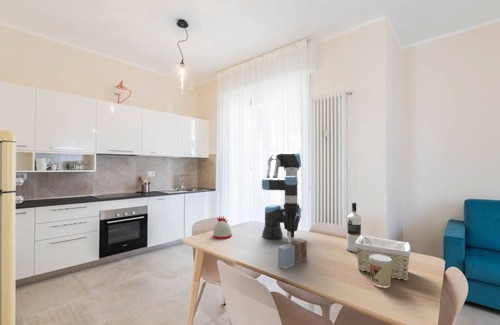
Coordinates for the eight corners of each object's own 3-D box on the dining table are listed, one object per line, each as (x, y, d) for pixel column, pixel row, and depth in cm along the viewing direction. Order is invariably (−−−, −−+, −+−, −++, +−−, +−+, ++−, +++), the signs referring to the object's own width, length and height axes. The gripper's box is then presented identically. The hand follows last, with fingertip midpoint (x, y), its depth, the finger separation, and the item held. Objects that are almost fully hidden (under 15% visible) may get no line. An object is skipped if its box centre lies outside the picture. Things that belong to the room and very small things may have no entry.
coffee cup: (364, 279, 113) (365, 253, 113) (383, 278, 113) (383, 253, 113) (377, 289, 103) (377, 261, 103) (397, 288, 104) (397, 261, 104)
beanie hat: (216, 233, 186) (216, 213, 186) (233, 233, 184) (233, 214, 184) (210, 238, 172) (211, 217, 172) (229, 239, 170) (229, 218, 171)
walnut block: (299, 255, 141) (299, 238, 141) (306, 258, 137) (306, 240, 138) (291, 259, 135) (291, 241, 136) (298, 262, 132) (298, 244, 132)
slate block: (287, 261, 133) (287, 243, 133) (294, 264, 129) (294, 245, 129) (277, 265, 127) (278, 246, 127) (285, 268, 124) (285, 249, 124)
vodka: (365, 251, 148) (365, 203, 148) (353, 253, 145) (353, 204, 145) (354, 247, 157) (354, 201, 157) (342, 248, 153) (343, 202, 154)
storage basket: (354, 270, 122) (354, 241, 122) (359, 260, 135) (359, 234, 135) (410, 284, 109) (410, 251, 109) (410, 271, 122) (410, 242, 122)
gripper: (278, 201, 143) (278, 241, 143) (296, 204, 134) (296, 246, 133) (286, 200, 148) (285, 238, 148) (303, 203, 139) (303, 243, 138)
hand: (290, 242), depth 141 cm, fingers closed
